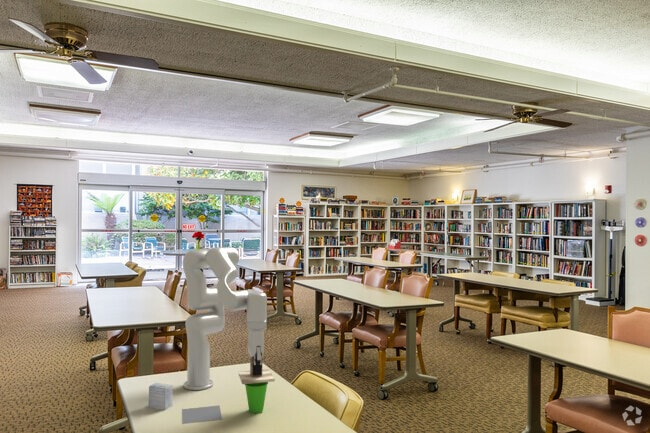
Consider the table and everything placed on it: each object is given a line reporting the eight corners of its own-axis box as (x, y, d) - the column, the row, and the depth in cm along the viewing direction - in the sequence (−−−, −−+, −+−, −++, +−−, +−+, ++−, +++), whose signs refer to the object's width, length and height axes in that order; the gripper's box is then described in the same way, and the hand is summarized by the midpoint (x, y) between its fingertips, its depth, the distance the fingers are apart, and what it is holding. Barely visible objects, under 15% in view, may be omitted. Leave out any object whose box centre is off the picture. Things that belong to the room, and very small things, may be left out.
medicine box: (172, 407, 187) (172, 384, 187) (165, 411, 183) (165, 388, 183) (155, 404, 190) (156, 382, 190) (148, 408, 186) (148, 385, 186)
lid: (238, 374, 187) (238, 353, 188) (269, 371, 191) (269, 351, 191) (242, 384, 176) (242, 362, 176) (274, 381, 179) (274, 359, 179)
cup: (263, 417, 178) (263, 387, 178) (240, 415, 180) (240, 385, 180) (271, 408, 187) (271, 379, 187) (249, 406, 188) (249, 378, 189)
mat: (182, 410, 184) (182, 409, 184) (219, 406, 188) (219, 405, 188) (182, 425, 171) (182, 423, 171) (222, 420, 175) (222, 419, 175)
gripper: (244, 321, 191) (243, 367, 190) (249, 330, 175) (249, 381, 174) (262, 320, 193) (262, 366, 193) (270, 329, 177) (269, 379, 176)
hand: (256, 372), depth 183 cm, fingers closed on lid, 4 cm apart
